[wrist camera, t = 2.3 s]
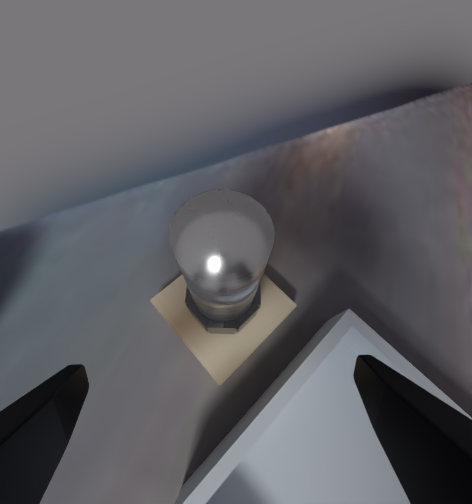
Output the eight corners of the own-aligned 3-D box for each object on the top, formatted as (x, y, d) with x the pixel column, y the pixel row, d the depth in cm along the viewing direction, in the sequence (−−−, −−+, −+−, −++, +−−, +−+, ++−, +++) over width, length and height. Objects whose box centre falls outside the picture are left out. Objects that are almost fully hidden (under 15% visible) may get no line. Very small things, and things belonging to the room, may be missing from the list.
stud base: (292, 309, 21) (310, 292, 17) (220, 385, 18) (218, 388, 14) (226, 246, 23) (227, 216, 19) (154, 305, 21) (135, 286, 16)
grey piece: (269, 301, 19) (311, 234, 10) (221, 349, 17) (217, 321, 8) (225, 257, 20) (226, 164, 11) (177, 298, 19) (132, 227, 10)
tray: (511, 492, 16) (592, 525, 13) (388, 793, 12) (461, 983, 8) (327, 319, 21) (349, 308, 17) (181, 486, 16) (169, 519, 12)
